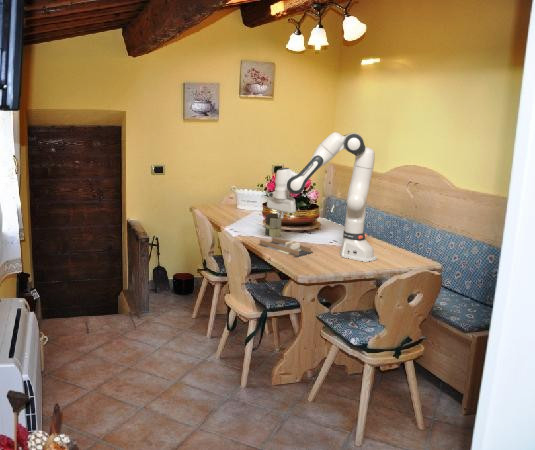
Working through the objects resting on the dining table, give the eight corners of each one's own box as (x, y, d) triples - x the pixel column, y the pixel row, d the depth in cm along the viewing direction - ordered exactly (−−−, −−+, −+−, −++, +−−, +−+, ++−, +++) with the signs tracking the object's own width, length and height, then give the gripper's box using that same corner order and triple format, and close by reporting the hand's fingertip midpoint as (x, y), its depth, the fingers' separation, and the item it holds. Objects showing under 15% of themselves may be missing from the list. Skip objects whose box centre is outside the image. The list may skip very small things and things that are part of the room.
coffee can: (262, 235, 353) (263, 214, 350) (270, 233, 362) (271, 212, 358) (275, 238, 348) (277, 217, 345) (283, 235, 356) (284, 215, 353)
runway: (312, 253, 319) (313, 247, 318) (295, 257, 308) (295, 251, 307) (275, 242, 339) (275, 236, 338) (257, 246, 327) (257, 240, 326)
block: (299, 250, 319) (299, 243, 318) (292, 252, 315) (293, 244, 314) (291, 248, 323) (292, 241, 322) (285, 250, 319) (285, 242, 318)
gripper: (298, 197, 315) (297, 220, 318) (273, 192, 328) (271, 214, 331) (291, 198, 310) (290, 221, 313) (265, 193, 324) (264, 215, 327)
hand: (280, 217), depth 322 cm, fingers closed
